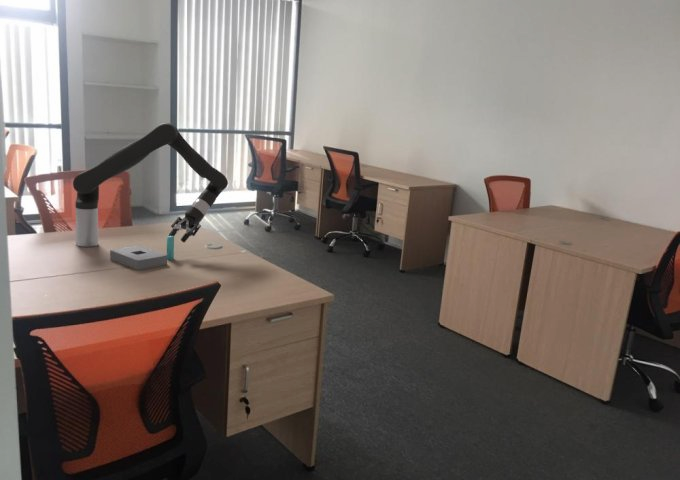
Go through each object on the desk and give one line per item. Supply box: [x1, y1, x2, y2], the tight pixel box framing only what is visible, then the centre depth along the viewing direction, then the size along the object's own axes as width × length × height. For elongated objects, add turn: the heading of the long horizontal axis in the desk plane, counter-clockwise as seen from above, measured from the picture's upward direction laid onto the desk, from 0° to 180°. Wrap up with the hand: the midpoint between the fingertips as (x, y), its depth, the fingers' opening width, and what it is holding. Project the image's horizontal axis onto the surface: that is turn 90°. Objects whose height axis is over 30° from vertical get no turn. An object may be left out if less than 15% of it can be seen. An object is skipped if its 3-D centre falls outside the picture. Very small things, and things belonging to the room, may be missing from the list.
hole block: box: [109, 245, 168, 271], centre depth 248 cm, size 20×14×4 cm
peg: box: [166, 235, 175, 261], centre depth 255 cm, size 3×3×10 cm
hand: (176, 239), depth 257 cm, fingers open, 8 cm apart
